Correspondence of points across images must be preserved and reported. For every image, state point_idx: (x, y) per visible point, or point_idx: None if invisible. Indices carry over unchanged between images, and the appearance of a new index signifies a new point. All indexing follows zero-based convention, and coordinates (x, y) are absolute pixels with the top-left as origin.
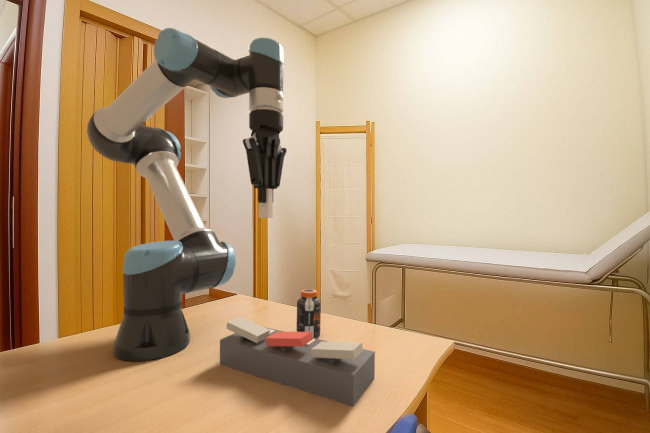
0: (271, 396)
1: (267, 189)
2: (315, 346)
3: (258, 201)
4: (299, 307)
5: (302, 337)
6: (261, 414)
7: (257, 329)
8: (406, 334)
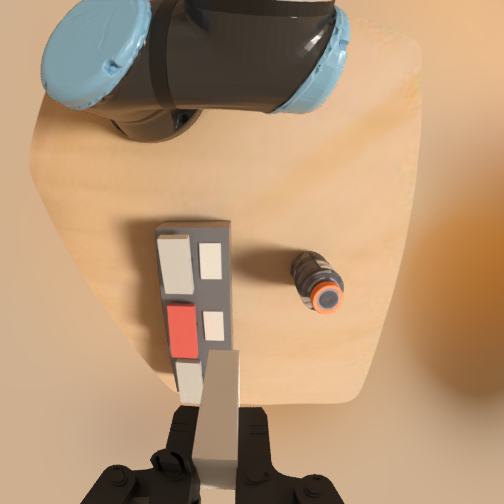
0: (151, 314)
1: (200, 481)
2: (183, 363)
3: (178, 410)
4: (301, 282)
5: (176, 356)
6: (129, 321)
7: (178, 282)
8: (360, 367)
